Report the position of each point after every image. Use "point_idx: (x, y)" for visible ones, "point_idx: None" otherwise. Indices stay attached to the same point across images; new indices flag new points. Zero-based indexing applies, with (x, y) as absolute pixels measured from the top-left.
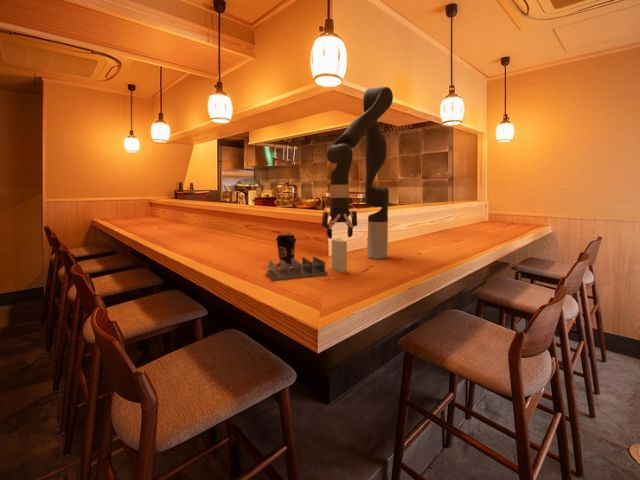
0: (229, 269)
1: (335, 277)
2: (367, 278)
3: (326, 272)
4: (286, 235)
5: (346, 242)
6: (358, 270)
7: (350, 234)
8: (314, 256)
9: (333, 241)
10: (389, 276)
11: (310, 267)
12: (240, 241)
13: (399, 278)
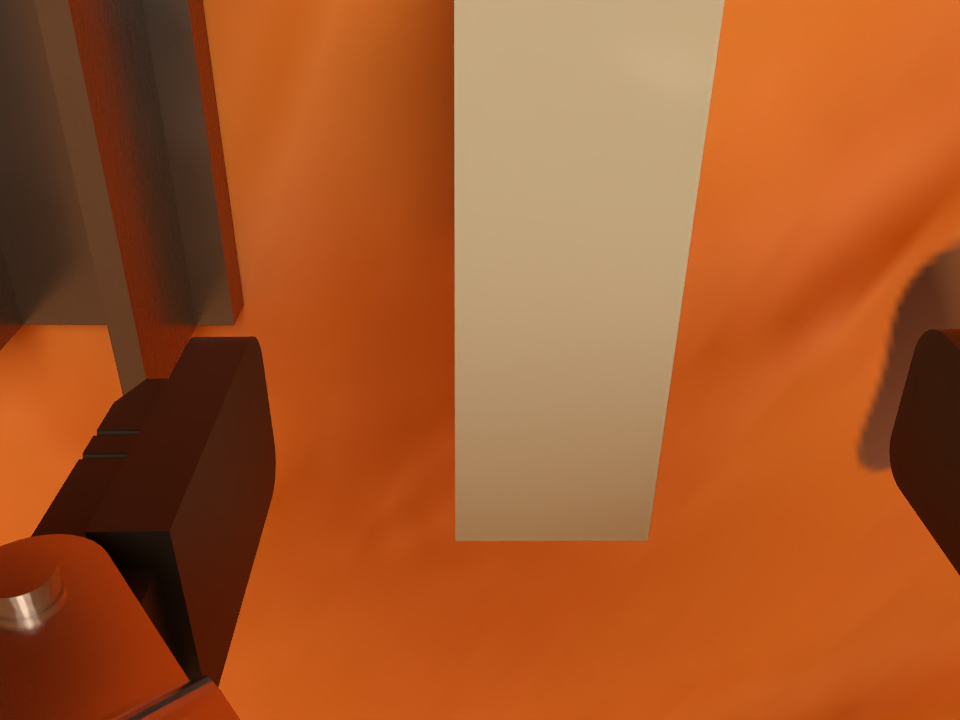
0: None
1: (305, 436)
2: (616, 579)
3: (218, 322)
4: None
5: (638, 526)
6: (755, 244)
7: (942, 519)
8: None
9: (454, 130)
10: (867, 594)
11: None
12: None
13: (889, 670)
